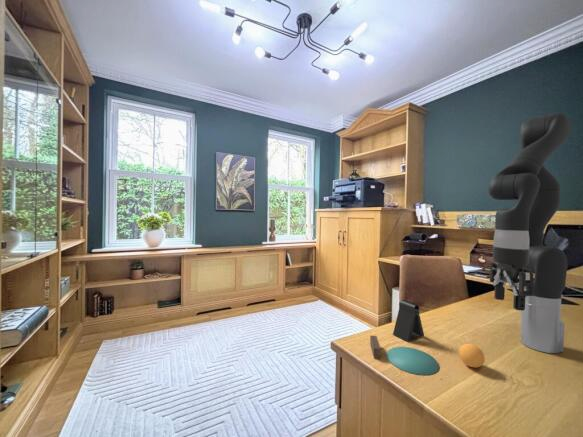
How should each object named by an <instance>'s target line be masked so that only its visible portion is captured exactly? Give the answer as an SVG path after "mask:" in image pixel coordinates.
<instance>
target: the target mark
mask: <svg viewBox="0 0 583 437" xmlns="http://www.w3.org/2000/svg"><path fill="white" fill-rule="evenodd" d="M386 359H387V360H388V361H389V363H390V364H391V365H393V366H394V367H395V368H397V369H399V370H401V371H404V372H405V373H408V374H414V375H419V376H429V375H433V374H435V373H437V372H438V371H439V369H440V366H439V363H438V361H437V359H436V358H434V356H432V355H430V354H429V353H427V352H425V351H422V350H421V349H418V348H413V347H407V346H395V347H392V348H390V349H388V350H387V351H386Z"/></svg>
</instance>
